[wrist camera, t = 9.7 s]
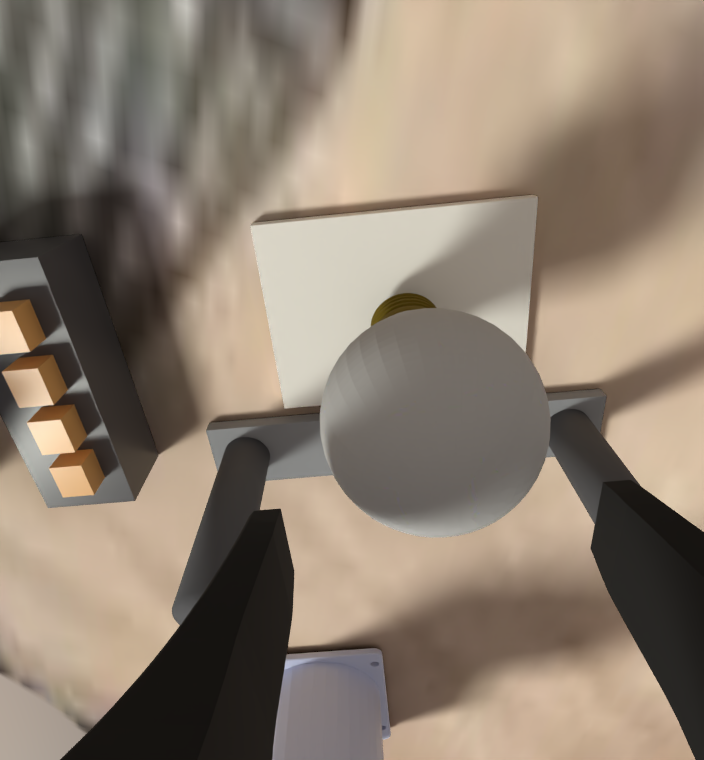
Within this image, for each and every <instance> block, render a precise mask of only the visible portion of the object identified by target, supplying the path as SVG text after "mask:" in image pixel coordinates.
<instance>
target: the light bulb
mask: <svg viewBox="0 0 704 760" xmlns="http://www.w3.org/2000/svg"><path fill="white" fill-rule="evenodd" d="M550 421H551V418H550V410H549V404H548V398H547V394H546V391H545V388H544V386H543V383H542V380H541V378H540V375H539V373H538V371H537V370H536V368H535V366H534V365H533V363H532V362H531V360H530V358H529V357H528V355H527V354H526V353H525V351H524V350H523V349H522V348H521V347H520V346H519V345H518V344H517V343H516V342H515V341H514V340H513V339H512V338H511V337H510V336H509V335H507V334H506V333H505V332H503V331H502V330H501V329H499V328H498V327H497V326H495V325H493V324H491V323H489V322H488V321H486V320H484V319H482V318H480V317H477V316H475V315H471V314H468V313H465V312H462V311H457V310H450V309H444V308H436V306H435V305H434V304H433V303H432V302H431V301H430V300H429V299H427V298H426V297H424V296H421V295H418V294H414V293H402V294H397V295H394V296H392V297H390V298H388V299H387V300H385V301H384V302H383V303H382V304H380V305H379V307H378V308H377V309H376V311H375V313H374V314H373V317H372V320H371V327H370V328H368V329H367V330H365V331H364V332H363V333H361V334H360V335H359V336H358V337H357V338H356V339H355V340H354V341H353V342H351V343H350V345H349V346H348V347H347V348H346V350H345V351H344V352H343V353H342V355H341V356H340V357H339V358H338V360H337V362H336V364H335V366H334V367H333V369H332V371H331V373H330V375H329V377H328V380H327V383H326V386H325V389H324V392H323V396H322V403H321V409H320V435H321V441H322V445H323V449H324V454H325V457H326V460H327V462H328V464H329V467H330V469H331V471H332V474H333V476H334V477H335V479H336V481H337V482H338V484H339V485H340V487H341V488H342V490H343V491H344V492H345V494H346V495H347V496H348V497H349V498H350V499H351V500H352V501H353V502H354V503H355V504H356V505H357V506H358V507H359V508H360V509H361V510H362V511H363V512H365V513H366V514H367V515H369V516H370V517H372V518H373V519H374V520H376V521H378V522H380V523H382V524H384V525H385V526H387V527H389V528H392V529H395V530H397V531H400V532H403V533H406V534H411V535H415V536H421V537H452V536H459V535H463V534H467V533H471V532H474V531H476V530H479V529H482V528H484V527H486V526H488V525H490V524H492V523H494V522H496V521H497V520H499V519H500V518H502V517H503V516H505V515H506V514H507V513H508V512H509V511H511V510H512V509H513V508H514V507H515V506H516V505H518V503H519V502H520V501H521V500H522V499H523V498H524V497H525V496H526V494H527V493H528V492H529V490H530V489H531V487H532V486H533V484H534V483H535V481H536V479H537V477H538V475H539V473H540V471H541V469H542V466H543V464H544V461H545V458H546V454H547V450H548V446H549V440H550Z"/></svg>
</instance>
